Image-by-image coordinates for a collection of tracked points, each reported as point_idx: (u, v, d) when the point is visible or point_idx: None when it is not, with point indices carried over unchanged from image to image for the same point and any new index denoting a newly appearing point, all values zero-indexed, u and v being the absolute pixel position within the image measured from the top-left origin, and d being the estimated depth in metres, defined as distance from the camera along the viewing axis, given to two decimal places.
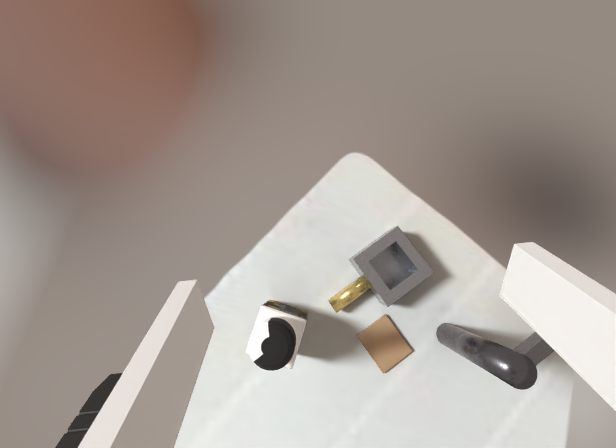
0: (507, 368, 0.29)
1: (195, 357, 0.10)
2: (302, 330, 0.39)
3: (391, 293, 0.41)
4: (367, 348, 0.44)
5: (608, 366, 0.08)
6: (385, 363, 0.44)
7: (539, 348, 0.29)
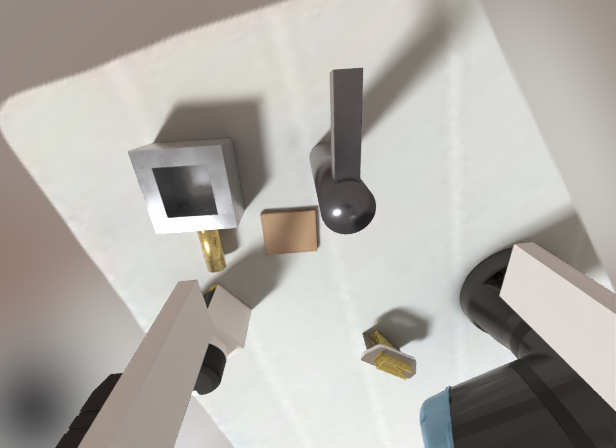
0: (333, 223, 0.18)
1: (195, 357, 0.10)
2: None
3: (222, 215, 0.29)
4: (284, 251, 0.36)
5: (608, 366, 0.08)
6: (309, 243, 0.36)
7: (343, 154, 0.16)
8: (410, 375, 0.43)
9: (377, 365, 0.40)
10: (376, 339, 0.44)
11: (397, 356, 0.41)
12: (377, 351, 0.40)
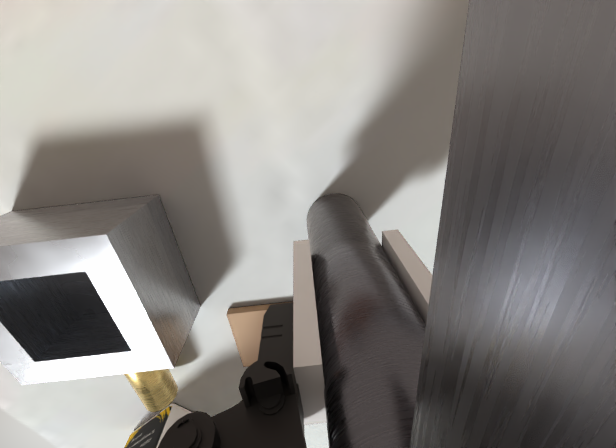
0: None
1: None
2: None
3: (141, 351, 0.15)
4: None
5: None
6: None
7: None
8: None
9: None
10: None
11: None
12: None
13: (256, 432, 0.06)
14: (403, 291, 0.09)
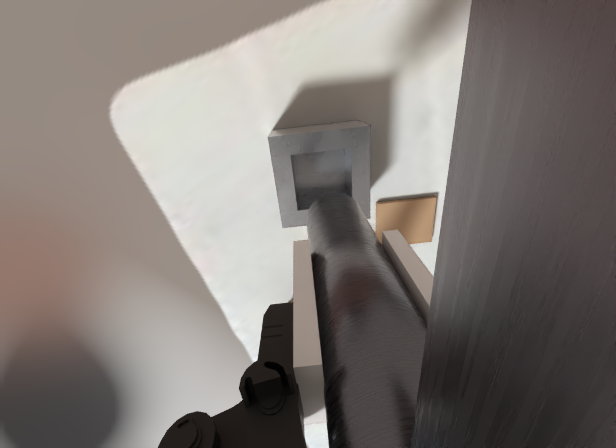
0: None
1: None
2: None
3: None
4: None
5: None
6: (424, 234, 0.33)
7: None
8: None
9: None
10: None
11: None
12: None
13: (256, 432, 0.06)
14: (403, 290, 0.09)
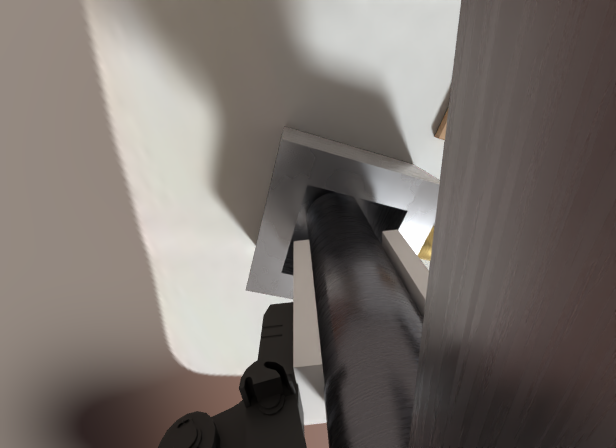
0: None
1: None
2: None
3: (413, 203, 0.14)
4: None
5: None
6: None
7: None
8: None
9: None
10: None
11: None
12: None
13: (256, 432, 0.06)
14: (403, 289, 0.09)
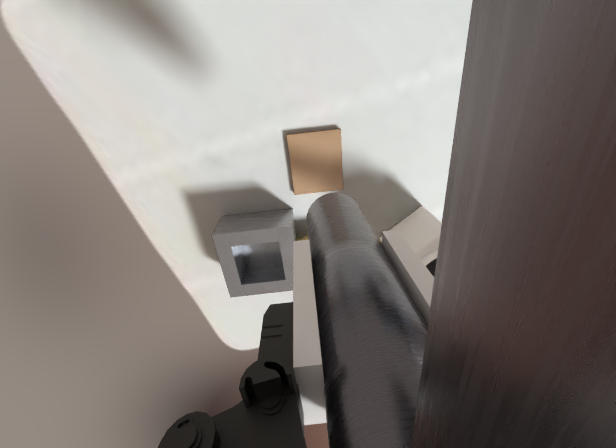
0: None
1: None
2: None
3: (279, 237, 0.30)
4: (340, 169, 0.31)
5: None
6: (330, 140, 0.30)
7: None
8: None
9: None
10: None
11: None
12: None
13: (256, 432, 0.06)
14: (403, 290, 0.09)
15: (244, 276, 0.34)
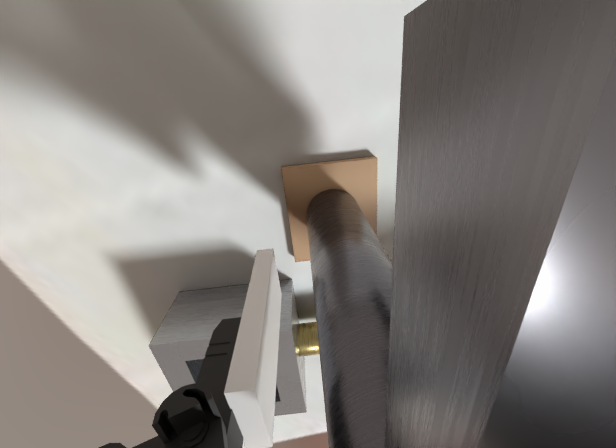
0: None
1: (277, 313, 0.11)
2: None
3: None
4: (373, 223, 0.19)
5: None
6: (357, 176, 0.17)
7: None
8: None
9: None
10: None
11: None
12: None
13: None
14: None
15: None
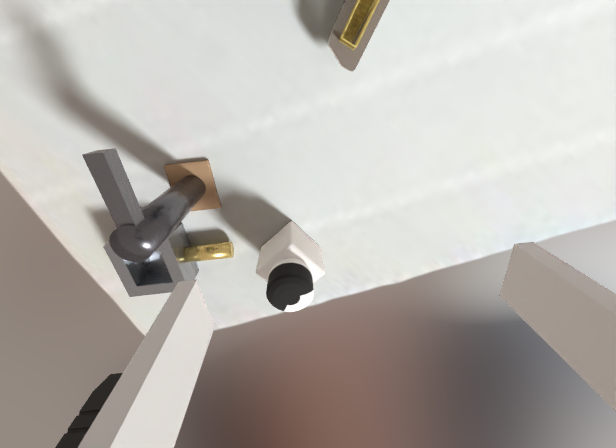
0: (124, 255, 0.24)
1: (195, 357, 0.10)
2: (263, 267, 0.37)
3: (159, 248, 0.37)
4: (214, 192, 0.38)
5: (608, 366, 0.08)
6: (200, 169, 0.37)
7: (114, 207, 0.22)
8: None
9: (353, 45, 0.27)
10: (349, 38, 0.31)
11: (349, 6, 0.26)
12: (337, 46, 0.28)
13: None
14: (173, 200, 0.30)
15: (143, 279, 0.41)
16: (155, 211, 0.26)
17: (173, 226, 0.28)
